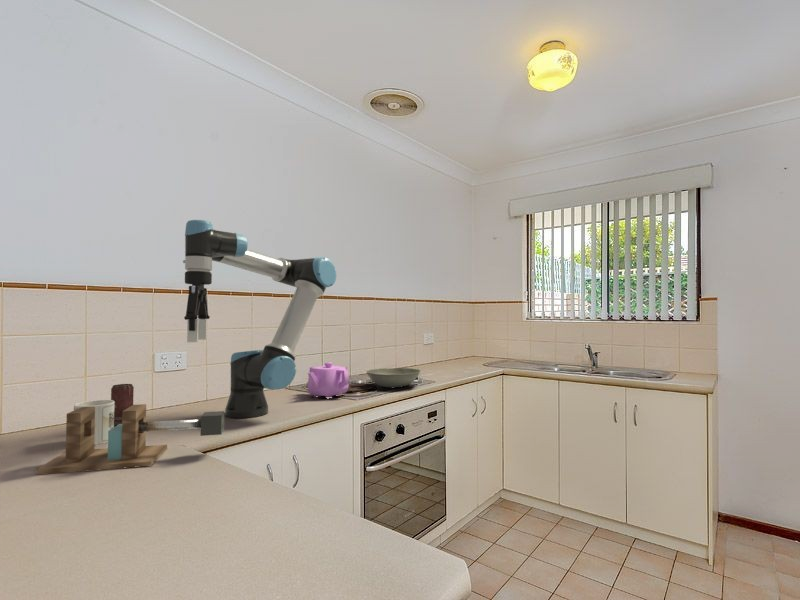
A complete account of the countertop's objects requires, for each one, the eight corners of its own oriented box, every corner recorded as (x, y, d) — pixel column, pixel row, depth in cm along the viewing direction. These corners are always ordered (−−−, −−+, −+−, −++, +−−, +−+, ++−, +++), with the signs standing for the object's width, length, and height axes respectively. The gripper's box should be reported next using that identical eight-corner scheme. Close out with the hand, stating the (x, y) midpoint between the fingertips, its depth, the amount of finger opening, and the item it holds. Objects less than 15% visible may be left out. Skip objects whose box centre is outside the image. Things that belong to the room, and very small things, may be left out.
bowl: (426, 383, 235) (426, 368, 235) (412, 393, 208) (412, 375, 208) (377, 381, 242) (377, 366, 243) (358, 390, 216) (358, 372, 216)
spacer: (131, 450, 117) (131, 423, 117) (121, 458, 110) (121, 430, 110) (118, 451, 116) (119, 424, 116) (107, 459, 109) (108, 431, 109)
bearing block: (167, 449, 122) (167, 401, 122) (151, 466, 108) (152, 412, 109) (66, 455, 116) (67, 405, 116) (36, 474, 102) (37, 417, 103)
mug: (123, 438, 132) (124, 401, 132) (83, 450, 121) (84, 409, 121) (98, 435, 135) (98, 398, 136) (56, 446, 124) (57, 406, 124)
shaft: (224, 429, 121) (224, 411, 121) (221, 434, 116) (221, 415, 116) (138, 434, 116) (138, 415, 116) (131, 439, 111) (132, 419, 111)
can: (122, 431, 140) (123, 386, 140) (105, 430, 141) (106, 385, 141) (137, 426, 146) (138, 383, 146) (121, 425, 147) (122, 383, 147)
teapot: (307, 401, 188) (308, 365, 188) (305, 393, 206) (305, 360, 206) (352, 399, 193) (353, 364, 193) (346, 391, 211) (347, 359, 211)
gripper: (193, 274, 147) (193, 338, 147) (174, 266, 123) (173, 343, 122) (218, 274, 149) (217, 338, 148) (203, 267, 125) (202, 343, 124)
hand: (197, 341), depth 135 cm, fingers open, 13 cm apart
